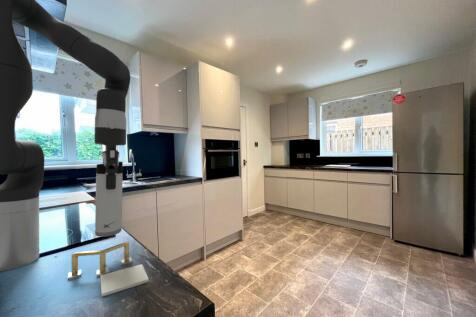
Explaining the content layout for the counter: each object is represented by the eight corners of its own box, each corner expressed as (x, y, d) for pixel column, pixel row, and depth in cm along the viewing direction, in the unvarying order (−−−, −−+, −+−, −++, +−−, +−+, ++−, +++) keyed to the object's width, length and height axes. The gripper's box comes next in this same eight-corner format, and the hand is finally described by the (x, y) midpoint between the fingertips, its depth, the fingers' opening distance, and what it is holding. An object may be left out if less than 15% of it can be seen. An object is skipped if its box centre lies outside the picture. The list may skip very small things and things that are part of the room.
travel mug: (110, 238, 54) (111, 161, 54) (89, 235, 55) (90, 161, 55) (127, 230, 60) (128, 161, 60) (108, 227, 61) (109, 160, 61)
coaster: (101, 296, 42) (101, 294, 42) (100, 278, 48) (100, 275, 48) (148, 281, 47) (148, 279, 47) (141, 266, 54) (141, 264, 54)
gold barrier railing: (66, 285, 45) (66, 260, 45) (68, 275, 49) (68, 252, 49) (133, 267, 53) (133, 245, 53) (130, 259, 57) (130, 239, 57)
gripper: (94, 129, 61) (93, 185, 61) (94, 123, 49) (93, 192, 49) (123, 131, 65) (122, 183, 66) (129, 126, 54) (128, 190, 54)
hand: (110, 187), depth 57 cm, fingers closed on travel mug, 6 cm apart
